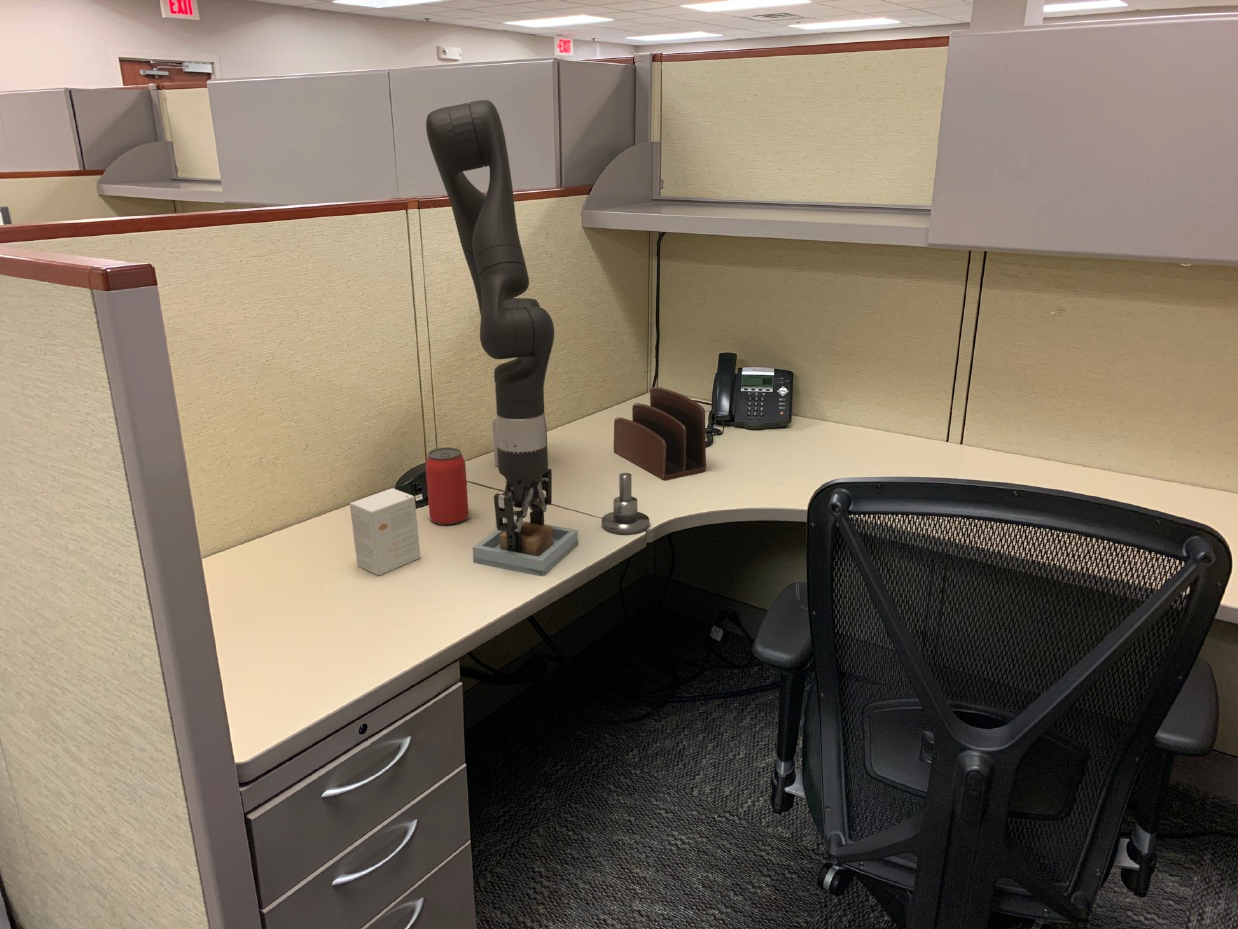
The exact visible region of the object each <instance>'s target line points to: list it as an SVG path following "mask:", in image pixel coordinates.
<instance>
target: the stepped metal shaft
mask: <svg viewBox="0 0 1238 929" xmlns="http://www.w3.org/2000/svg"><path fill="white" fill-rule="evenodd" d="M618 475H619V477H618V478H619V479H618V480H619V483H618V486H619V496H616V497H615V498H614V499H613V511H611V512H608V513H606V514H605V515H603V516H602V517H601V528H602V529H603V530H604V531H606V532H608V533H610V534H614V535H622V536H629V535H631V536H632V535H637V534H641V533H643V532H645V531H647V530H648V529H649V528H650V517H649V516H648V515H647V514H645V513H643V512H640V511H638V502H639V501H638V499H637V497H634V496H632V474H631V473H630V472H621V473H619V474H618Z"/></svg>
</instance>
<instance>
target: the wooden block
mask: <svg viewBox="0 0 1238 929" xmlns="http://www.w3.org/2000/svg"><path fill="white" fill-rule="evenodd" d="M499 536H500V549H501V550H506V551H508V550H507V537H506V532H503V533H502V534H501V535H499ZM521 536H522V552H521V553H522V554H527V555H533V556H540V555H541V554H542V553H543V552H544V551H545V550H547V549H548V548H549V547H550V546H551V545H552V544H553V533H552V527H551V526H545V525H539V524H534V523H528V522H522V526H521Z"/></svg>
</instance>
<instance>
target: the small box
mask: <svg viewBox="0 0 1238 929" xmlns="http://www.w3.org/2000/svg"><path fill="white" fill-rule="evenodd" d="M349 508H350V517H351V523H352V525H351V526H352V532H353V533H352V535H353V540H354V541H353V542H354V551H355V557H356V564H357V566H358V568H361V569H364V570H365V571H368V572H369V573H373V574H374V575H377V576H382V575H384V574H386V573H389V572H391V571H393V570H395V569H398V568H400V567H402V566H404V565H407V564H409V563H412V562H414V561H416V560H419V559H420V558H421V548H420V538H419V531H418V528H419V527H418V519H417V509H416V498H415V496H414V495H412V494H409V493H406V492H404V491H401V490H398V489H396V488H393V487H392V488H389V489H386V490H383V491H380V492H378V493H374V494H372V495H369V496H366V497H364V498H360V499H358V500H355V501H352V502H350V503H349Z"/></svg>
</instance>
